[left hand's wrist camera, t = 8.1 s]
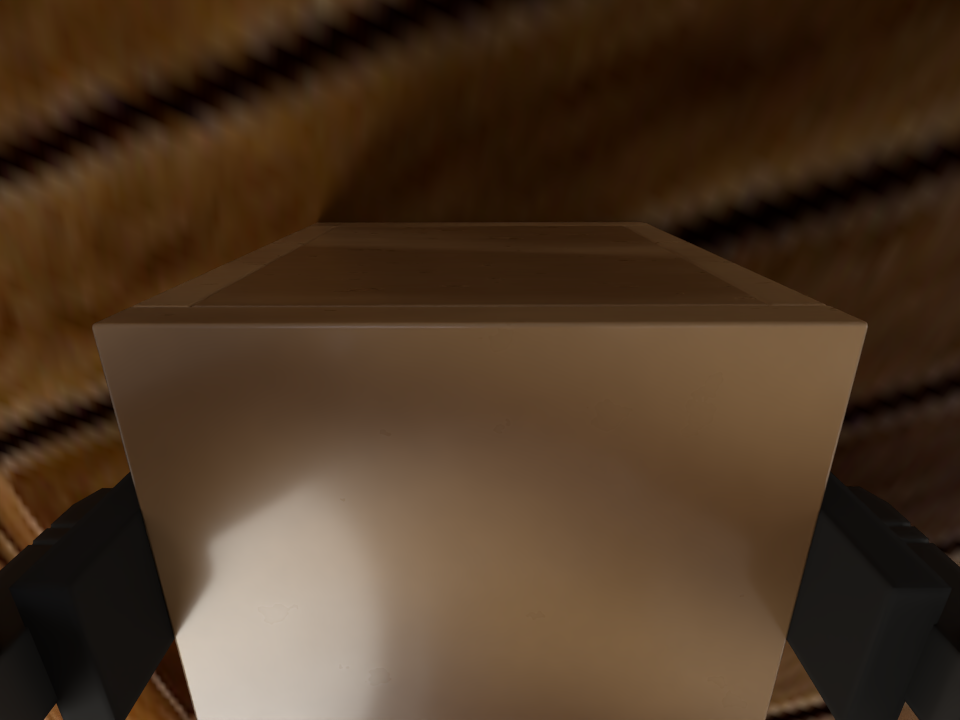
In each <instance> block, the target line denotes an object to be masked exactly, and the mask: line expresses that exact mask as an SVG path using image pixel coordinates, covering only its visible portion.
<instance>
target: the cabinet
mask: <svg viewBox="0 0 960 720" xmlns="http://www.w3.org/2000/svg"><path fill="white" fill-rule="evenodd" d="M867 328H868V324H867V322H865V321H863V320H860V319H858V318H856V317H854V316H851V315H849V314H847V313H845V312H843V311H840V310H838V309H836V308H834V307H831V306H826V304H823V303H821V302H819V301H817V300H814V299H812V298H810V297H808V296H806V295H803V294H801V293H799V292H797V291H795V290H792V289H790V288H788V287H786V286H784V285H781V284H779V283H777V282H775V281H772V280H770V279H768V278H766V277H764V276H761V275H759V274H757V273H755V272H753V271H750V270H748V269H746V268H744V267H741V266H739V265H737V264H735V263H733V262H730V261H728V260H726V259H724V258H722V257H719V256H717V255H715V254H713V253H711V252H708V251H706V250H704V249H702V248H699V247H697V246H695V245H693V244H691V243H688V242H686V241H684V240H682V239H680V238H677V237H675V236H673V235H671V234H668V233H666V232H664V231H662V230H660V229H657V228H655V227H653V226H651V225H649V224H647V223H645V222H399V223H315V224H313V225H311V226H308V227H306V228H304V229H302V230H300V231H297V232H295V233H293V234H291V235H289V236H286V237H284V238H282V239H280V240H278V241H275V242H273V243H271V244H269V245H267V246H264V247H262V248H260V249H258V250H256V251H253V252H251V253H249V254H247V255H245V256H242V257H240V258H238V259H236V260H234V261H231V262H229V263H227V264H225V265H223V266H220V267H218V268H216V269H214V270H211V271H209V272H207V273H205V274H203V275H200V276H198V277H196V278H194V279H192V280H189V281H187V282H185V283H183V284H181V285H178V286H176V287H174V288H172V289H170V290H167V291H165V292H163V293H161V294H159V295H156V296H154V297H152V298H150V299H148V300H145V301H143V302H141V303H139V304H137V305H134V306H133V307H130V308H128V309H126V310H123V311H121V312H119V313H117V314H114V315H112V316H110V317H108V318H106V319H103V320H101V321H99V322H97V323H95V324H93V327H92V329H93V333H94V337H95V341H96V344H97V348H98V352H99V356H100V359H101V363H102V367H103V371H104V374H105V378H106V382H107V386H108V389H109V393H110V397H111V401H112V404H113V408H114V412H115V416H116V419H117V423H118V427H119V431H120V434H121V438H122V442H123V446H124V449H125V453H126V457H127V461H128V464H129V468H130V472H131V476H132V479H133V483H134V487H135V491H136V494H137V498H138V502H139V506H140V509H141V513H142V517H143V521H144V524H145V528H146V532H147V536H148V540H149V543H150V547H151V551H152V555H153V558H154V562H155V566H156V570H157V573H158V577H159V581H160V585H161V588H162V592H163V596H164V600H165V603H166V607H167V611H168V615H169V618H170V622H171V626H172V630H173V633H174V637H175V641H176V645H177V648H178V652H179V656H180V660H181V663H182V667H183V671H184V675H185V678H186V682H187V686H188V690H189V693H190V697H191V701H192V705H193V708H194V712H195V716H196V720H765V719H766V715H767V712H768V708H769V704H770V700H771V696H772V692H773V689H774V685H775V681H776V677H777V673H778V669H779V666H780V662H781V658H782V654H783V650H784V646H785V643H786V639H787V635H788V631H789V627H790V623H791V620H792V616H793V612H794V608H795V604H796V600H797V597H798V593H799V589H800V585H801V581H802V577H803V574H804V570H805V566H806V562H807V558H808V554H809V550H810V547H811V543H812V539H813V535H814V531H815V527H816V524H817V520H818V516H819V512H820V508H821V504H822V501H823V497H824V493H825V489H826V485H827V481H828V478H829V474H830V470H831V466H832V462H833V458H834V455H835V451H836V447H837V443H838V439H839V435H840V432H841V428H842V424H843V420H844V416H845V412H846V409H847V405H848V401H849V397H850V393H851V389H852V386H853V382H854V378H855V374H856V370H857V366H858V363H859V359H860V355H861V351H862V347H863V343H864V340H865V336H866V332H867Z"/></svg>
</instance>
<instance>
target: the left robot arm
mask: <svg viewBox="0 0 960 720" xmlns="http://www.w3.org/2000/svg"><path fill="white" fill-rule="evenodd" d="M174 638H175V637H174V633H173V630H172V626H171V622H170V618H169V615H168V611H167V607H166V603H165V600H164V596H163V592H162V588H161V585H160V581H159V577H158V573H157V570H156V566H155V562H154V558H153V555H152V551H151V547H150V543H149V540H148V536H147V532H146V528H145V524H144V521H143V517H142V513H141V509H140V506H139V502H138V498H137V494H136V491H135V487H134V483H133V479H132V476H131V472H129V473H128V474H127V475H126V476H125V477H124V478H123V479H122V480H121V481H120V482H119V483H118V484H117V485H116V486H115V487H114V488H102V489H100V490H98V491H96V492H95V493H93V494H91V495H89V496H88V497H86V498H84V499H82V500H81V501H79V502H77V503H75V504H74V505H72V506H71V507H70V508H69V509H68V510H67V511H66V512H64V513H63V514H62V515H61V516H60V517H59V518H58V519H57V520H56V521H54V522H53V523H52V524H51V528H47V529H46V530H45V531H43V532H42V533H41V534H40V535H39V536H38V537H37V538H36V539H35V540H33V544H32V545H28V546H27V547H26V548H25V549H24V550H22V551H21V552H20V553H19V554H18V555H17V556H16V557H15V558H14V559H12V560H11V561H10V562H9V563H8V564H7V565H6V566H5V567H4V568H2V569H1V570H0V720H44V719H45V717H46V716H47V715H48V713H49V712H50V711H51V709H52V708H53V707H54V705H55V704H56V703H57V706H58V708H59V711H60V713H61V715H62V718H63V720H125V719H126V717H127V716H128V714H129V712H130V711H131V709H132V707H133V706H134V704H135V703H136V701H137V699H138V698H139V696H140V694H141V693H142V691H143V689H144V688H145V686H146V684H147V683H148V681H149V680H150V678H151V676H152V675H153V673H154V671H155V670H156V668H157V666H158V665H159V663H160V661H161V660H162V658H163V657H164V655H165V653H166V652H167V650H168V648H169V647H170V645H171V643H172V642H173V640H174ZM787 641H788V642H789V644H790V646H791V647H792V649H793V651H794V652H795V654H796V656H797V657H798V659H799V660H800V662H801V664H802V665H803V667H804V669H805V670H806V672H807V674H808V675H809V677H810V679H811V680H812V682H813V683H814V685H815V687H816V688H817V690H818V692H819V693H820V695H821V697H822V698H823V700H824V702H825V703H826V705H827V706H828V708H829V710H830V711H831V713H832V715H833V716H834V718H835V720H898V717H899V715H900V713H901V710H902V708H903V705H904V703H905V701H906V703H907V704H908V705H909V707H910V708H911V709H912V711H913V712H914V713H915V715H916V716H917V717H918V719H919V720H960V567H959V566H958V565H957V564H956V563H955V562H954V561H952V560H951V559H950V558H949V557H948V556H947V555H946V554H945V553H944V552H942V551H941V550H940V549H939V548H938V547H937V546H936V545H935V544H934V543H929V541H928V538H927V537H926V536H925V535H923V534H922V533H921V532H920V531H919V530H918V529H917V528H916V527H911V525H910V522H909V521H908V520H907V519H906V518H905V517H903V516H902V515H901V514H900V513H899V512H898V511H897V510H896V509H895V508H893V507H892V506H891V505H890V504H889V503H887V502H886V501H884V500H882V499H880V498H879V497H877V496H875V495H873V494H872V493H870V492H868V491H866V490H864V489H863V488H861V487H846V486H845V485H844V484H843V483H842V482H841V481H840V480H839V479H838V478H836V477H835V476H834V475H833V474H832V473H831V472H830V474H829V478H828V481H827V485H826V489H825V493H824V497H823V501H822V504H821V508H820V512H819V516H818V520H817V524H816V527H815V531H814V535H813V539H812V543H811V547H810V550H809V554H808V558H807V562H806V566H805V570H804V574H803V577H802V581H801V585H800V589H799V593H798V597H797V600H796V604H795V608H794V612H793V616H792V620H791V623H790V627H789V631H788V635H787Z"/></svg>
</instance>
